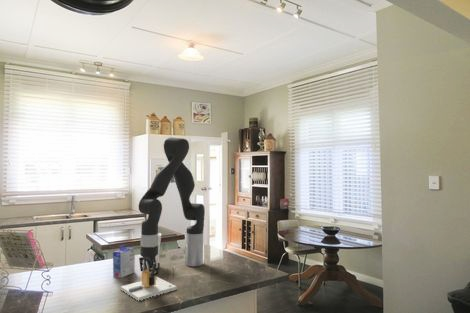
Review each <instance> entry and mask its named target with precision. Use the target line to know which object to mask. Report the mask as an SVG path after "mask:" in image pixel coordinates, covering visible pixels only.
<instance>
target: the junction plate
mask: <svg viewBox="0 0 470 313" xmlns="http://www.w3.org/2000/svg"><path fill="white" fill-rule="evenodd" d="M121 290H122V291H121ZM176 290H177V285H174V284H173V283H170V282H169V281H166V280H164V279H162V278H160V277H158V276H156V285H153V286H150V287H145V286H143V285H142V280H140V281H137V282H133V283H129V284H124V285H122V286H121V285H120V291H121V292H123V291H124V292H125V293H124V292H123V293H124V294H126V293H127V294H126V295H128V296H129V295H130V296H129V297H131V296H132V297H133V299H134V298H135V299H136V300H135V299H134V300H135V301H137V300H138V301H137V302H140V301H139V300H141V301H144V300H143V299H145V300H147V299H146V298H148V299H150V298H149V297H151V298H153V297H152V296H154V297H157V296H156V295H158V296H160V294H161V295H163V293H164V294H167V293H171V292H173V291H176ZM170 291H171V292H170ZM132 297H131V298H132Z"/></svg>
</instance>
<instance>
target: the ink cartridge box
mask: <svg viewBox="0 0 470 313" xmlns="http://www.w3.org/2000/svg"><path fill="white" fill-rule="evenodd" d="M118 246H119V249H118V250H116V251H113V252H112V260H113V261H112V270H113V272H112V273H113V276H112V277H114V278H117V279H122V278H125V277H126V276H128V275H131V274H134V273H135V271H136V270H135V267H136V266H135V264H136V263H135V261H136V260H135V259H136V258H135V250H136V249H135V248H134V247H128V246H127V247H126V245H125V243H124V244H120V245H118Z"/></svg>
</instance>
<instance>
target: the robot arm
mask: <svg viewBox="0 0 470 313" xmlns="http://www.w3.org/2000/svg"><path fill="white" fill-rule="evenodd" d="M163 150H164V154H165V156H166V158H167V161H168V163H167V164H166V165H165V166H164V167H163V168H161V169H160V170H159V172H158V173H156V175H155V177H154V178H153V181H152V183H151V184H150V187H149V188H148V190H147V191H146V192H145V193H144V194H143V196H142V197H141V198H140V200H139V202H138V211H139V213H140V214H143V215H148V216H147V219H144V220H143V221H142V222H141V235H140V250H139V251H140V257H139V258H138V259H139V268H140V269H139V270H140V272H141V273H142V272H143V271H145V270H146V269H147V271H148V272H149V285H150V286H152V285H154V277H155V276H156V277H158V275H159V271H160V265H161V264H160V262H158V263H157V262H156V258H155V257H156V255H158V233H159V222H160V219H161V216H162V211H163V205H162V201H160V200H159V199H158V198H160V197H163V196H164V195H165V194H166V191H167V190H168V187H169V185H170V183H171V180H172V179H173V177H174V181H175V185H176V188H177V191H178V195H179V198H180V201H181V202H180V203H181V207H182V212H183V217H184V218H185V219H186V220H188V221H195V224H194V225H190V226H188V227H186V243H185V244H186V246H184V247H185V251H184V252H185V255H184V263H185V265H186V266H187V267H188V266H189V267H200V266H203V264H204V228H205V213H206V212H205V205H204V204H203V203H196V202H195V203H191V200H190V197H191V196H192V193H193V192H194V190H195V186H196V185H195V184H196V183H195V180H194V176H193V173H192V172H191V171H190V169H189V168H188V167H187V166H186V165H185V164H184V163H183V162H184V160H185V159H186V157H187V155H188V154H189V152H190V151H189V150H190V142H189V141H188V140H187V139H186V138H181V137H167V138H166V139H165V140H164V141H163ZM150 268H152V269H150ZM151 271H152V274H151ZM155 272H156V273H155Z"/></svg>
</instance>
